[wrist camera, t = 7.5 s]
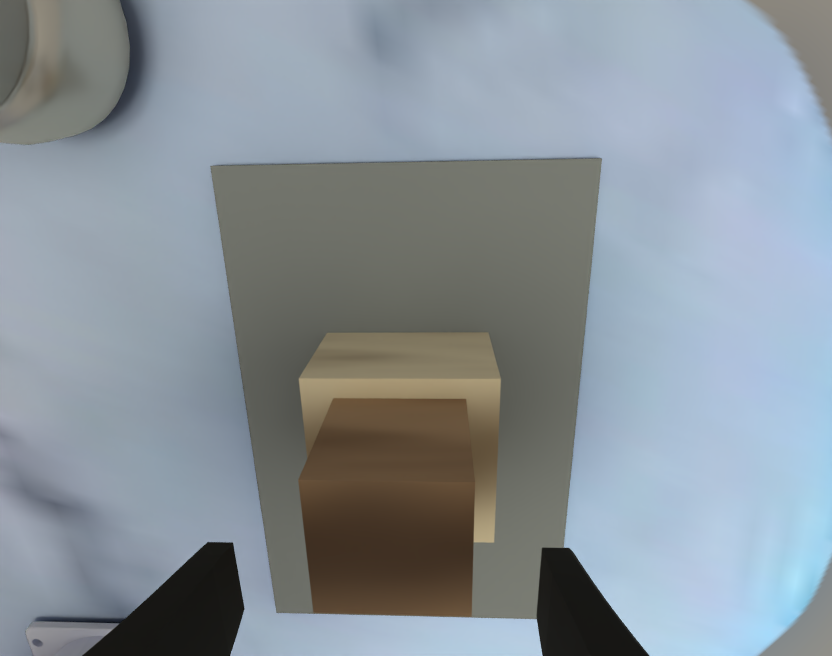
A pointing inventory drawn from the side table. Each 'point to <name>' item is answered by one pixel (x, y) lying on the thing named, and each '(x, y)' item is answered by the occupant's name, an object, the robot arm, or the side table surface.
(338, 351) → the birch base block
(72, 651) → the robot arm
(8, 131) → the plastic bottle
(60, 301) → the side table surface
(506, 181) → the grey flat rectangular panel
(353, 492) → the walnut block
